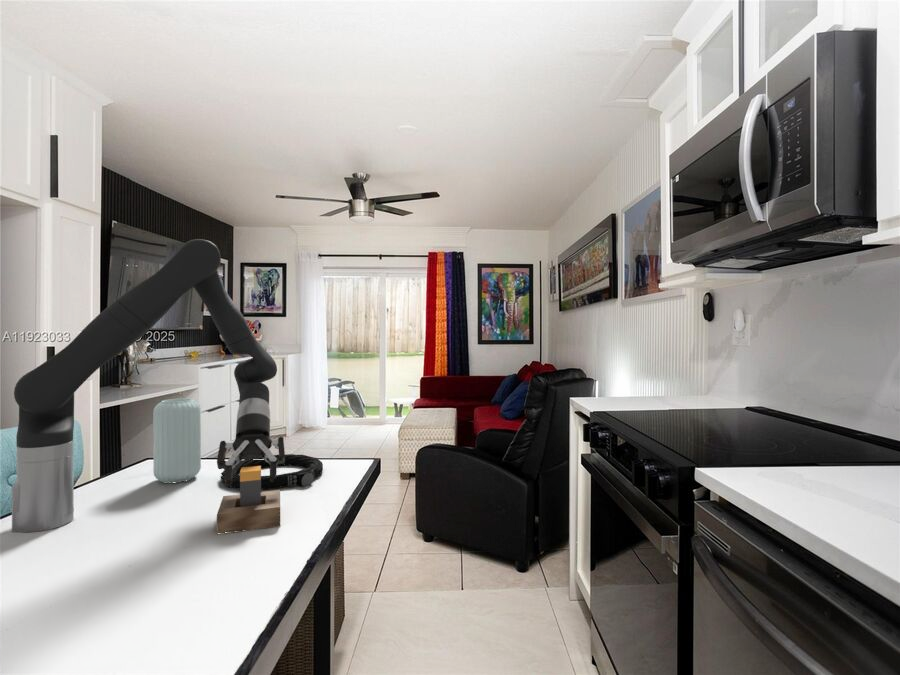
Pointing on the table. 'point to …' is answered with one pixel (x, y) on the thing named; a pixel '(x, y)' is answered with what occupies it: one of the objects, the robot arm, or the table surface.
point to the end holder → (248, 513)
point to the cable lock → (281, 480)
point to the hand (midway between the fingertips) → (250, 481)
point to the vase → (176, 440)
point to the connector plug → (250, 486)
